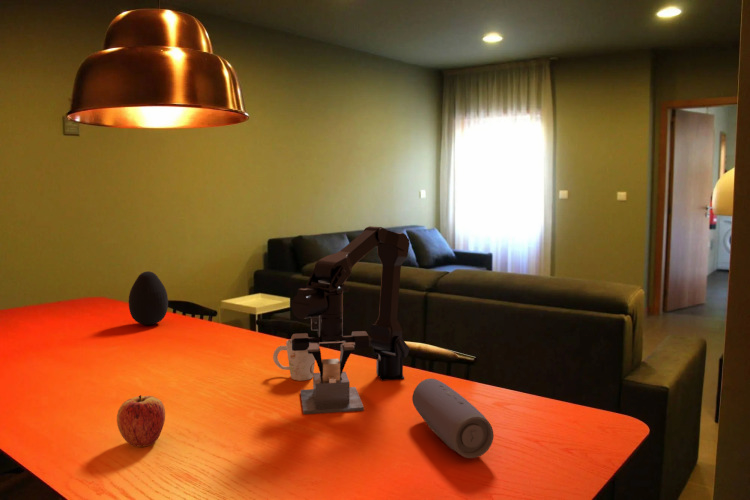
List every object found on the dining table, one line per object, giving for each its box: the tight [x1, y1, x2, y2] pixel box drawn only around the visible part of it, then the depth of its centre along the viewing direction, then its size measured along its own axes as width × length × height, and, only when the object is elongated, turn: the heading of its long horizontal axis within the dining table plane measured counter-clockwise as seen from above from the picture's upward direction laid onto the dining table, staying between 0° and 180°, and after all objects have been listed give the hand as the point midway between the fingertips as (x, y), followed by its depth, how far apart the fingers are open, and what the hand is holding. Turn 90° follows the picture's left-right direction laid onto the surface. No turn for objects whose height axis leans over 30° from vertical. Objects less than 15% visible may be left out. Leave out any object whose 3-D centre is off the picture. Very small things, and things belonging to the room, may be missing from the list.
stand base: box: [300, 371, 365, 415], centre depth 142 cm, size 14×14×7 cm
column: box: [321, 358, 340, 381], centre depth 142 cm, size 4×4×9 cm
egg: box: [128, 271, 169, 326], centre depth 217 cm, size 14×14×20 cm
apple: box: [116, 395, 166, 447], centre depth 118 cm, size 9×9×10 cm
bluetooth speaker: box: [411, 378, 494, 459], centre depth 121 cm, size 23×9×10 cm, turn 17°
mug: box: [272, 338, 316, 382], centre depth 160 cm, size 8×13×10 cm, turn 78°
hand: (330, 375), depth 142 cm, fingers closed on column, 4 cm apart
